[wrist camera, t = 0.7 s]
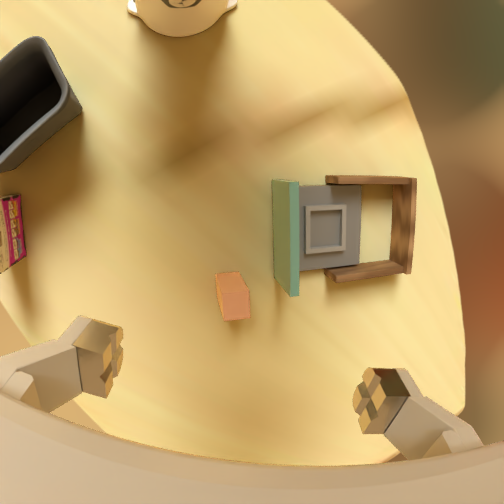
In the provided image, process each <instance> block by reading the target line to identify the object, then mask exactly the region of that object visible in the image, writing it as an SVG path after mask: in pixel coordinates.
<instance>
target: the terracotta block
mask: <svg viewBox="0 0 504 504" xmlns="http://www.w3.org/2000/svg"><path fill="white" fill-rule="evenodd" d="M215 277H216V290H217V299H218V303H219V306H220V309H221V313H222V316H223V319H224V321H229V320H238V319H246V318H250V298H249V289H248V287H247V286H246V284H245V282H244V280H243V278H242V277H241V275H240V273H239V271H238V272H228V273H217V274H215Z"/></svg>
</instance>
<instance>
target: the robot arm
mask: <svg viewBox="0 0 504 504" xmlns="http://www.w3.org/2000/svg"><path fill="white" fill-rule="evenodd" d="M134 1H135V2H134ZM236 5H237V0H129V1H128V4H127V10H128V12H129V13H131V14H133V15H135V16H138V17H140V18H141V19H142V20H143V21H144V22H145V24H146V25H147V26H148V27H149V28H151V29H152V30H154V31H155V32H157V33H160V34H163V35H166V36H173V37H183V36H190V35H194V34H197V33H200V32H202V31H204V30H206V29H208V28H209V27H211V26H212V25H213V24H214V23H215V22H216V21H217V20H218V19H219V18H220V16H221V15H222V14H223V13H225V12H227V11H229V10H231V9H233V8H234V7H236ZM122 339H123V329H122V327H120V326H116V325H113V324H109V323H106V322H102V321H99V320H95V319H92V318H88V317H85V316H81V315H80V316H77V318H76V319H75V320H74V321H73V322H72V323H71V325H70V326H69V327H68V328H67V329H66V331H65V332H64V333H63V334H62V335H61V337H60V338H59V339H58V340H54V339H53V340H50V341H47V342H44V343H41V344H38V345H35V346H32V347H29V348H25V349H22V350H19V351H16V352H13V353H10V354H7V355H4V356H0V504H504V441H500V442H497V443H493V444H489V445H485V446H484V445H483V444H482V442H481V440H480V439H479V437H478V436H477V434H476V432H475V431H474V429H473V427H472V426H470V425H469V424H467V423H466V422H464V421H463V420H461V419H460V418H458V417H457V416H455V415H454V414H452V413H451V412H449V411H448V410H446V409H445V408H443V407H442V406H440V405H439V404H437V403H435V402H434V401H432V400H431V399H429V398H428V397H423V395H422V394H421V392H420V390H419V388H418V387H417V385H416V384H415V382H414V380H413V379H412V377H411V375H410V374H409V372H408V370H406V369H404V368H393V369H387V368H370V367H368V368H367V369H366V370H365V372H364V374H363V376H362V378H363V382H362V383H361V384H359V385H358V386H357V387H356V390H355V392H354V395H353V407H354V410H355V412H356V413H358V414H359V415H360V417H359V419H358V422H359V425H360V427H361V430H362V433H363V434H384V436H385V437H386V438H387V439H388V440H389V441H390V442H391V443H392V444H393V445H394V446H395V447H396V448H397V449H398V450H399V451H400V452H401V453H402V454H403V455H404V456H405V457H406V458H407V459H408V460H407V461H399V462H390V463H379V464H365V465H344V466H299V465H277V464H263V463H251V462H241V461H233V460H225V459H218V458H211V457H204V456H198V455H193V454H187V453H182V452H177V451H172V450H167V449H163V448H158V447H154V446H150V445H145V444H141V443H138V442H134V441H130V440H126V439H123V438H119V437H116V436H112V435H109V434H106V433H103V432H100V431H96V430H93V429H90V428H87V427H84V426H82V425H78V424H76V423H73V422H70V421H68V420H65V419H62V418H60V417H57V416H55V415H52V414H50V412H51V411H53V410H55V409H56V408H58V407H60V406H61V405H63V404H64V403H66V402H68V401H70V400H71V399H73V398H75V397H76V396H78V395H79V394H81V393H82V392H86V393H89V394H92V395H96V396H99V397H103V398H107V397H108V395H109V393H110V390H111V388H112V386H113V378H114V377H116V376H118V374H119V372H120V369H121V365H122V361H123V348H122V347H121V345H120V343H121V341H122Z"/></svg>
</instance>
